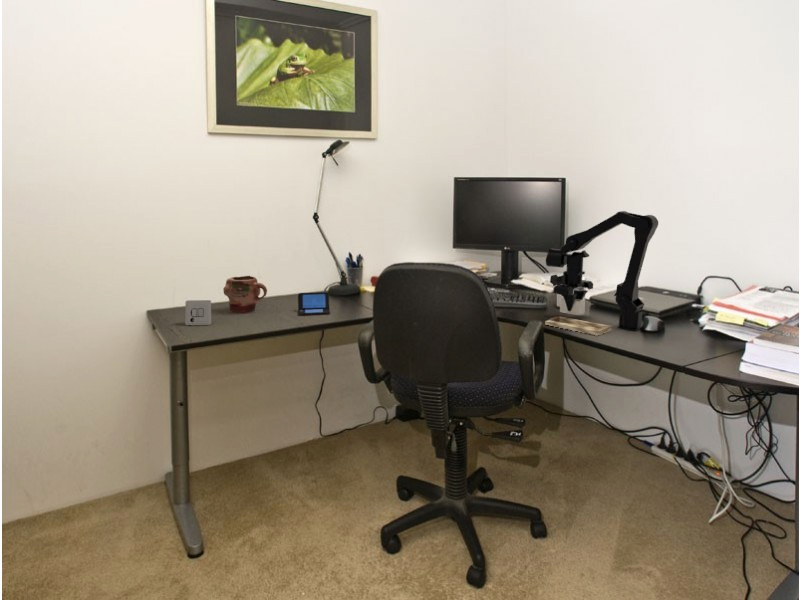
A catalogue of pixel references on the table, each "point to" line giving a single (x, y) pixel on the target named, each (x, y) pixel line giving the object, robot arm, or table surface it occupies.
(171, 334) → the table surface
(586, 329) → the board
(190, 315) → the electrical switch
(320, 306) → the handheld game console
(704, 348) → the table surface
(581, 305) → the white rectangular block
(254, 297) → the reddish brown mug
